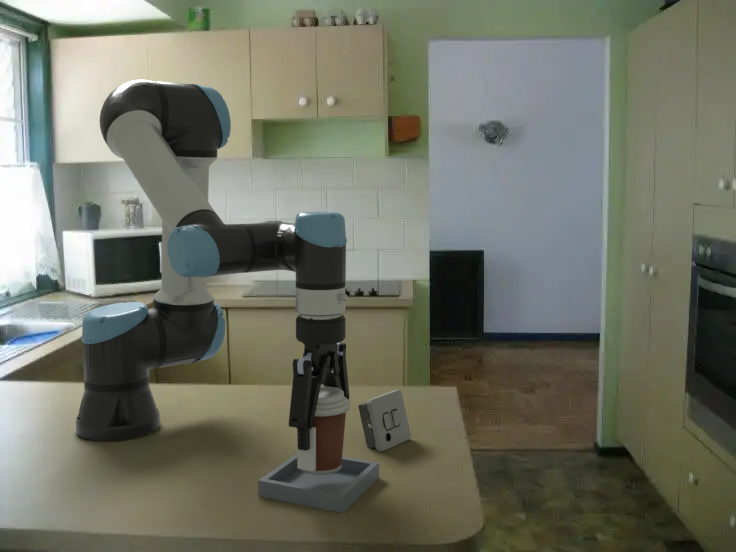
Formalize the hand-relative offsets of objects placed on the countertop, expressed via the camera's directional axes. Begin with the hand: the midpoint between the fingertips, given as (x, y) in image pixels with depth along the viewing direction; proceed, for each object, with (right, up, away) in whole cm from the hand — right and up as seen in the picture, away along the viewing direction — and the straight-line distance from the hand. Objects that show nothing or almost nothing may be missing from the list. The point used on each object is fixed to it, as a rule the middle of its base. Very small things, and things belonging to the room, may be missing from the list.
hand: (320, 457), depth 118 cm
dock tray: (0, -5, +1) cm, 5 cm away
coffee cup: (0, -2, 0) cm, 2 cm away
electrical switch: (+10, -2, +20) cm, 23 cm away
